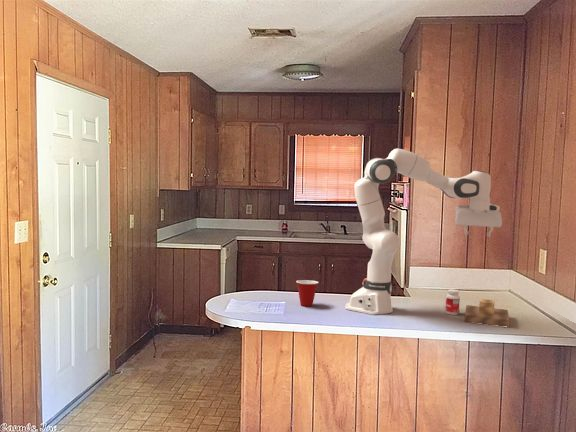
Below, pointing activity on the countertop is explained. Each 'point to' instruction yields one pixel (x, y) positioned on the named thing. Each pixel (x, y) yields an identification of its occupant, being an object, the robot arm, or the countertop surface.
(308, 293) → the plastic cup
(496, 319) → the walnut block
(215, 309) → the countertop surface
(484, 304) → the oak block
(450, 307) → the pill bottle
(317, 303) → the countertop surface
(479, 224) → the robot arm
